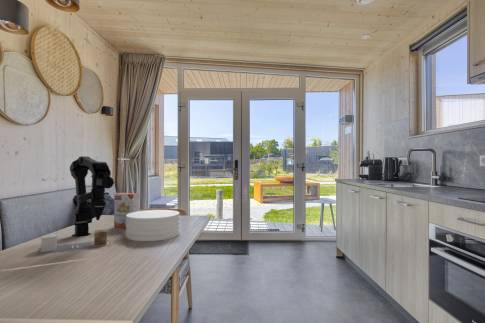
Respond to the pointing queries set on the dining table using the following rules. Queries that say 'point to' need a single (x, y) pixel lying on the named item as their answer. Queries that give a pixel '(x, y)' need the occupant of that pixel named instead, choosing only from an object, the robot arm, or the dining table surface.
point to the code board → (74, 247)
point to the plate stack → (152, 225)
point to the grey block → (49, 243)
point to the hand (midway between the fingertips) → (97, 218)
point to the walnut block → (100, 237)
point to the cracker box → (124, 207)
